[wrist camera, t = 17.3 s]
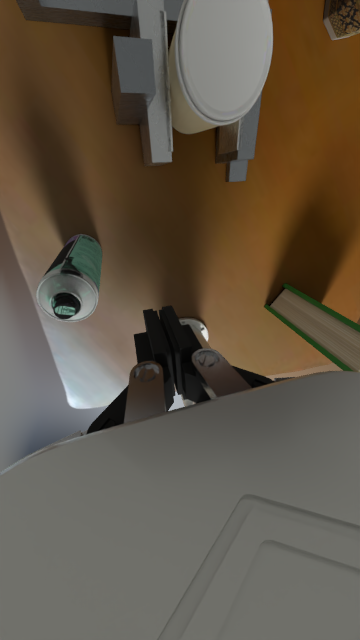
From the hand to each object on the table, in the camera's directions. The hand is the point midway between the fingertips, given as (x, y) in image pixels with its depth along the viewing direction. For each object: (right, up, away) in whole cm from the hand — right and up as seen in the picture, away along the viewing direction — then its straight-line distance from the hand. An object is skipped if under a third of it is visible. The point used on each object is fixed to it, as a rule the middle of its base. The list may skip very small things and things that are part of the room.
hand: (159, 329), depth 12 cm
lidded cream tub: (+2, +31, +16) cm, 35 cm away
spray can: (-15, +12, +22) cm, 29 cm away
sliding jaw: (-5, +28, +15) cm, 32 cm away
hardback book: (+31, +4, +44) cm, 54 cm away
